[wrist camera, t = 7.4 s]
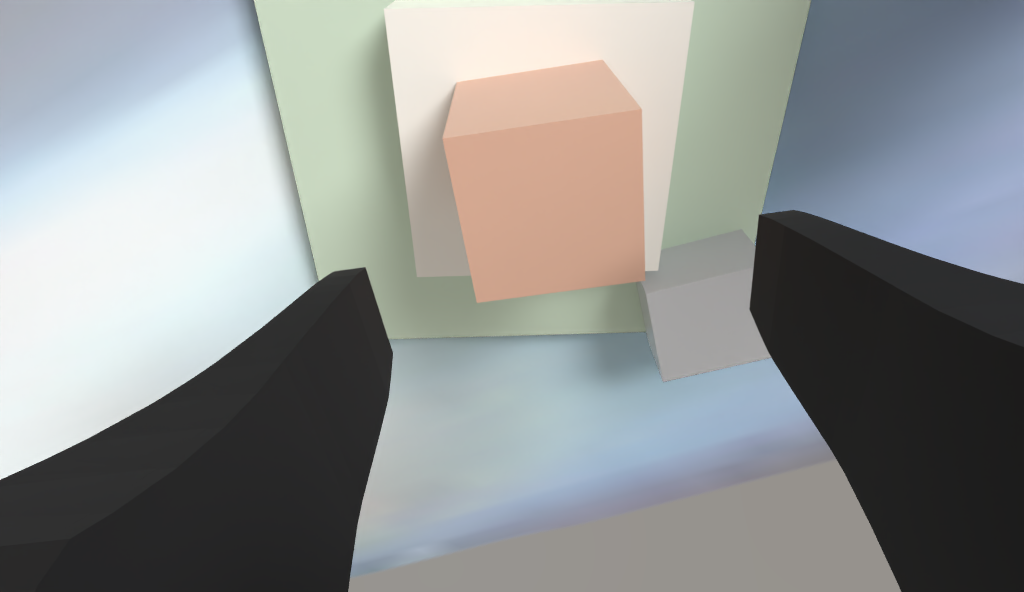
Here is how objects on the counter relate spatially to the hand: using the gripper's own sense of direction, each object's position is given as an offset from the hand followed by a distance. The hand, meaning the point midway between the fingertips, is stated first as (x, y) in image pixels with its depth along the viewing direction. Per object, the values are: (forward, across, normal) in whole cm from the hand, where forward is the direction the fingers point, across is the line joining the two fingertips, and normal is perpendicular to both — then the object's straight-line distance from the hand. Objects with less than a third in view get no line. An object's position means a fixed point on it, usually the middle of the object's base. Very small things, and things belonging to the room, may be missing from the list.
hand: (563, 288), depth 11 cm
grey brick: (+9, -5, +7) cm, 13 cm away
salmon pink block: (+7, 0, 0) cm, 7 cm away
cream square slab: (+9, 0, 0) cm, 9 cm away
